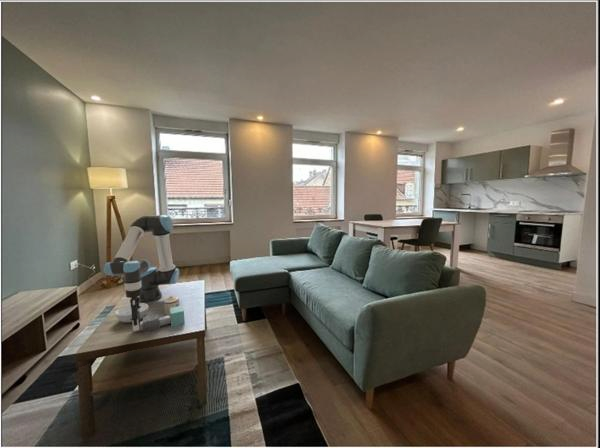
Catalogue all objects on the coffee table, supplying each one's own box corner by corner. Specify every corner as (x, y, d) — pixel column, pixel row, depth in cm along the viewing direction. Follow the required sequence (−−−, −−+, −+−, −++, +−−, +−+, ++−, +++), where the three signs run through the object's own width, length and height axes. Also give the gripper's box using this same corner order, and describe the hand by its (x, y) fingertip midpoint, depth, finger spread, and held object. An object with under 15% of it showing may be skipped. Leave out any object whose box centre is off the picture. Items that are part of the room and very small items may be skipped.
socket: (170, 320, 150) (169, 308, 149) (183, 317, 153) (182, 305, 152) (171, 326, 142) (170, 313, 141) (184, 323, 146) (183, 310, 145)
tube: (133, 329, 137) (132, 312, 136) (177, 318, 149) (176, 302, 148) (133, 332, 134) (131, 314, 133) (178, 321, 146) (177, 304, 145)
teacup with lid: (177, 315, 157) (176, 297, 155) (162, 316, 154) (161, 299, 153) (182, 307, 168) (181, 291, 167) (167, 308, 166) (166, 292, 165)
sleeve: (143, 327, 142) (143, 317, 141) (159, 323, 146) (158, 313, 145) (143, 333, 136) (142, 322, 135) (159, 328, 140) (159, 318, 139)
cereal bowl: (111, 328, 141) (110, 316, 141) (123, 315, 157) (122, 305, 156) (144, 323, 146) (143, 312, 145) (152, 311, 162) (151, 301, 161)
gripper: (127, 283, 143) (130, 317, 145) (123, 297, 122) (126, 337, 124) (142, 281, 147) (145, 314, 149) (140, 294, 126) (143, 333, 128)
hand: (136, 324), depth 137 cm, fingers open, 13 cm apart
